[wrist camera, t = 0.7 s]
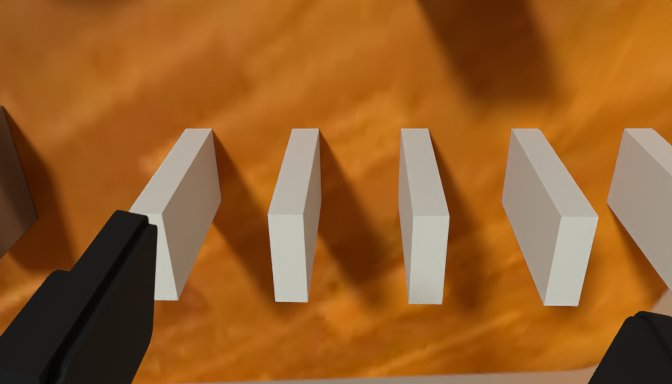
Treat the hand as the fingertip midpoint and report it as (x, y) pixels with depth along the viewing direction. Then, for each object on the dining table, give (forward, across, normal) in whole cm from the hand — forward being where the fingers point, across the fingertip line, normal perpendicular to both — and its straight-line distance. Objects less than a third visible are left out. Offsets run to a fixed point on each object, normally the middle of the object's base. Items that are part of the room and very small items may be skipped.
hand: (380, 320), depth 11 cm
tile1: (+24, -17, +5) cm, 29 cm away
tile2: (+23, -10, +6) cm, 26 cm away
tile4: (+23, +2, +9) cm, 25 cm away
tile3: (+23, -4, +8) cm, 25 cm away
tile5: (+23, +9, +10) cm, 27 cm away
